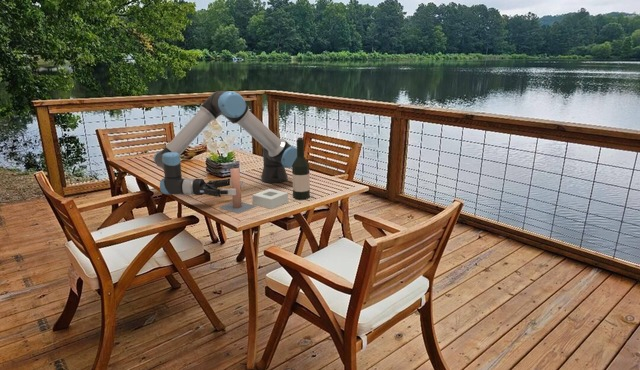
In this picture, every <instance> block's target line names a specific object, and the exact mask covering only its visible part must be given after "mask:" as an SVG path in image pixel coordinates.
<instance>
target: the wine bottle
mask: <svg viewBox="0 0 640 370" xmlns="http://www.w3.org/2000/svg"><path fill="white" fill-rule="evenodd" d="M296 148H297V158H296V159H295V161H294V163H293V165H292V168H291V169H292V171H291V172H292V176H291V177H292V198H293V199H294V200H295V201H296V200H297V201H304V200H308V199H309V198H311V194H310V193H311V192H310V191H311V190H310V189H311V187H310V184H311V183H310V164H309V161H308V160H307V159H306V157H305V140H304V138H303V137H302V136H301V137H297V139H296Z"/></svg>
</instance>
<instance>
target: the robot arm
mask: <svg viewBox="0 0 640 370" xmlns="http://www.w3.org/2000/svg"><path fill="white" fill-rule="evenodd" d="M220 116H223V117H225V119H227V120H228V121H229V123H232V124H237V125H238V126H239V127H240V128H241V129H243V130H244V131H245V132H246V133H247V134H249V135H250V136H251V137H252V138H253V139H254V140H255V141H257V143H259V144H260V145H261V146H262V161H263V168H262V172H261V175H260V180H261V181H262V182H263V183H268V184H279V183H284V182H286V181H288V174H287V170H286V168H287V169H292V165H293V163H294V161H295V159H296V158H297V146H292V145H291V144H290V143H289V142H288V141H286V139H285V138H279V137H278V136H277V135H276V134H275V133H274V132H272V130H271V129H269V128H268V127H267V126H266V125H265V124H264V123H263V122H262V121H261V120H260V119H259V118H258V117H256V116H255V114H253V113H252V112H251V111H250V105H248V104H247V103H246V100H245V99H244V97H243V96H242V95H241V94H239V93H238V92H235V91H229V90H217V91H214V92H213V93H212V94H210V96H208V97H207V98H206V100H205V101H204V102H203V103H202V104H201V105H200V106H199V110H198V111H197V112H196V114H194V115H193V117H192V118H191V119H190V120H189V121H188V122H187V124H185V125H184V127H182V129H181V130H180V131H179V132H178V133H177V134H176V135H175V136H174V138H172V139H171V141H170V142H169V143H168V144H167V145H166V146H165V147H164V148H163V149H162V150H160V151H158V152H156V153H155V154H154V156H153V161H154V163H155V164H156V167H159V168H161V169H162V171H163V175H164V178H161V180H160V182H159V190H160V192H161V193H162V194H164V195H171V196H172V195H173V196H174V195H177V196H178V195H180V196H182V195H188V197H189V196H190V197H191V196H193V195H194V196H203V195H207V196H212V197H216V198H217V197H218V198H221V197H222V196H232V195H236V189H232V188H223V187H227V186H230V187H232V185H231V177H230V178H224V179H217V180H215V179H214V180H209V181H207V182H205V180H204V179H203V178H183V177H182V164H181V158H180V156H181V155H182V154H183V152H184V151H185V150H186V149H187V148H188V147H189V146H190V145H191V143H193V141H194V140H195V139H196V138H198V136H199V135H200V134H201V133H202V132H203V131H204V130H205V129H206V127H207V126H208V125H209V124H211V122H212V121H216V120H217V118H218V117H220ZM244 182H245V181H244V179H243V180H241V179H240V186H241V187H245V183H244Z"/></svg>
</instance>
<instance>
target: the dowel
mask: <svg viewBox="0 0 640 370" xmlns="http://www.w3.org/2000/svg"><path fill="white" fill-rule="evenodd" d="M229 171H230V180H231V185H232V186H231V189H236V195H231V196H232V202H233V208H241V207H242V189H241V187H242V186H240V180H241V173H240V172H241V171H240V168H238V167H237V168H236V167H235V168H230V170H229Z"/></svg>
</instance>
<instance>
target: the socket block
mask: <svg viewBox="0 0 640 370" xmlns="http://www.w3.org/2000/svg"><path fill="white" fill-rule="evenodd" d="M251 200H252V205H254V206H257V207H258V206H259V207H263V208H266V209H270V210H273V209H275V208H278V207H281V206H283V205H285V204H287V203H289V192H286V191H281V190H276V189H272V188H268V189H265V190H261V191H260V192H256V193H254V194H252V198H251Z"/></svg>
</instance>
